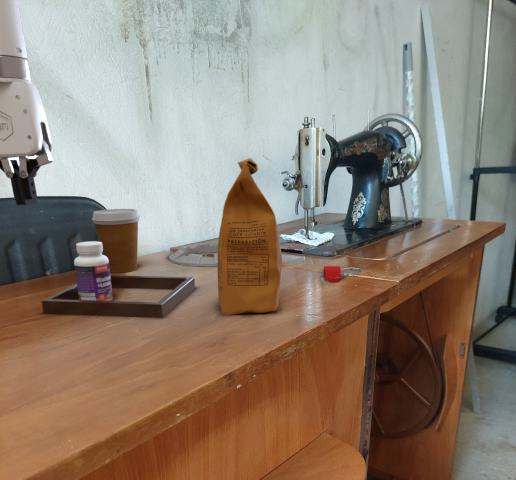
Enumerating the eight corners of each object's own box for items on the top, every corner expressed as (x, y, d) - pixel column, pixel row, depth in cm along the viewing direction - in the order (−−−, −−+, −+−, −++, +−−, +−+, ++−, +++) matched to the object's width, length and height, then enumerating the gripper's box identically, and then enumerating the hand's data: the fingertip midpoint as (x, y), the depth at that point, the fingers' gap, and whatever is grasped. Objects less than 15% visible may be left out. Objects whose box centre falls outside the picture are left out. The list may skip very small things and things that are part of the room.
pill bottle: (104, 307, 83) (96, 246, 79) (73, 306, 84) (64, 245, 80) (118, 298, 88) (112, 240, 84) (89, 297, 89) (81, 240, 85)
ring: (203, 270, 106) (203, 261, 106) (153, 258, 120) (152, 249, 119) (271, 256, 119) (271, 248, 118) (219, 246, 132) (218, 238, 131)
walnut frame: (43, 316, 79) (41, 300, 78) (95, 288, 94) (93, 274, 94) (162, 320, 76) (161, 304, 75) (195, 290, 91) (194, 277, 90)
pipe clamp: (322, 272, 103) (322, 261, 102) (336, 272, 103) (337, 261, 102) (326, 282, 95) (326, 270, 95) (341, 282, 95) (342, 270, 94)
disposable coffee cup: (88, 271, 108) (80, 212, 104) (124, 263, 115) (117, 207, 111) (119, 276, 103) (112, 214, 98) (154, 267, 110) (149, 209, 106)
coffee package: (282, 295, 87) (281, 157, 79) (281, 318, 76) (280, 158, 68) (223, 296, 88) (217, 158, 80) (214, 318, 76) (205, 160, 68)
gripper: (-62, 74, 73) (-32, 207, 80) (35, 67, 71) (58, 205, 77) (-26, 80, 80) (-1, 202, 86) (63, 74, 77) (82, 201, 84)
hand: (27, 204), depth 82 cm, fingers closed
